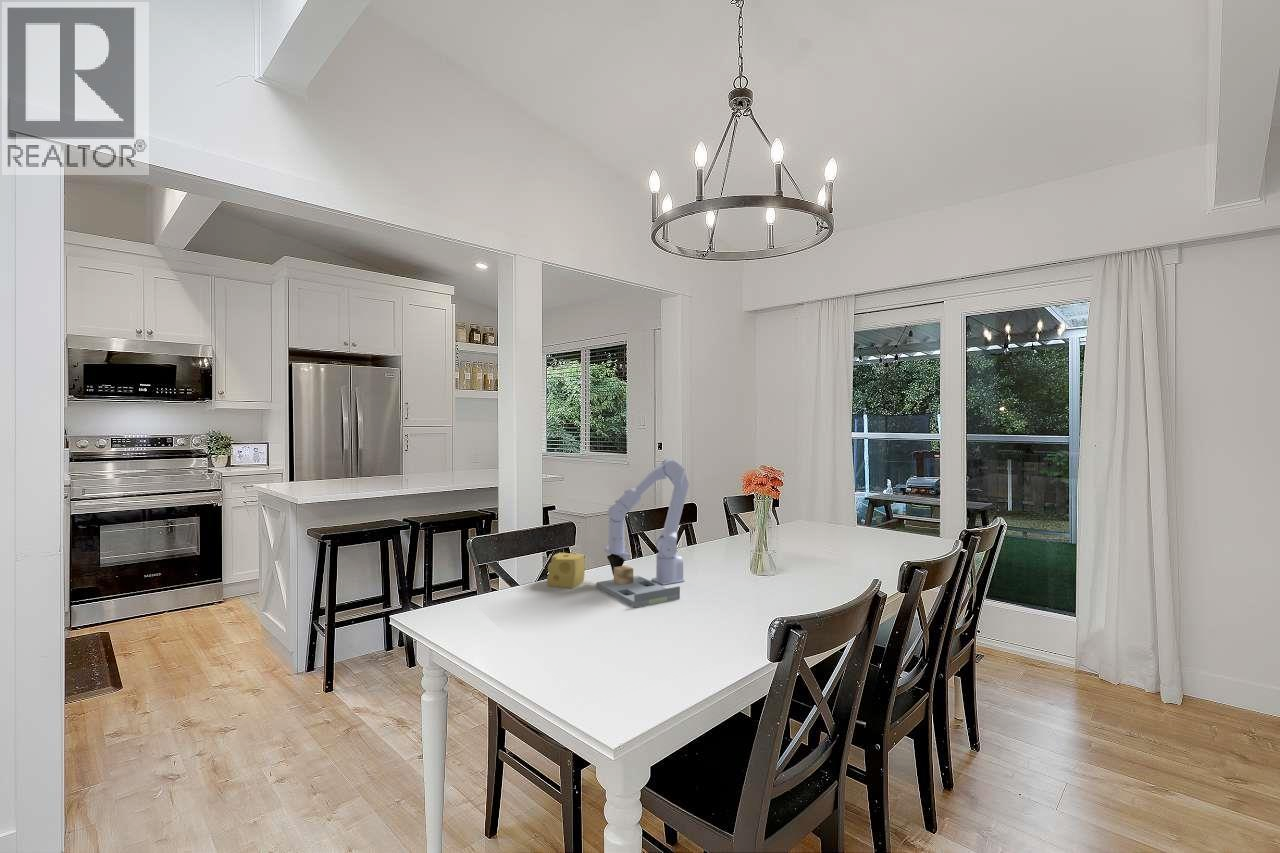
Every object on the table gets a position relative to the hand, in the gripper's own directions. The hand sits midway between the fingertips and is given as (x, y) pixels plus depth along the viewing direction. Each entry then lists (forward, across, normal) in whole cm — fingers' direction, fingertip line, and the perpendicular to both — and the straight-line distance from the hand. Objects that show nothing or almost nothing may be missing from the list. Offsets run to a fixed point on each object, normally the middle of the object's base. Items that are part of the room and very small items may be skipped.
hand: (616, 575), depth 211 cm
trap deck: (+3, +14, 0) cm, 14 cm away
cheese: (+3, -8, -16) cm, 18 cm away
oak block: (+1, +5, 0) cm, 6 cm away
